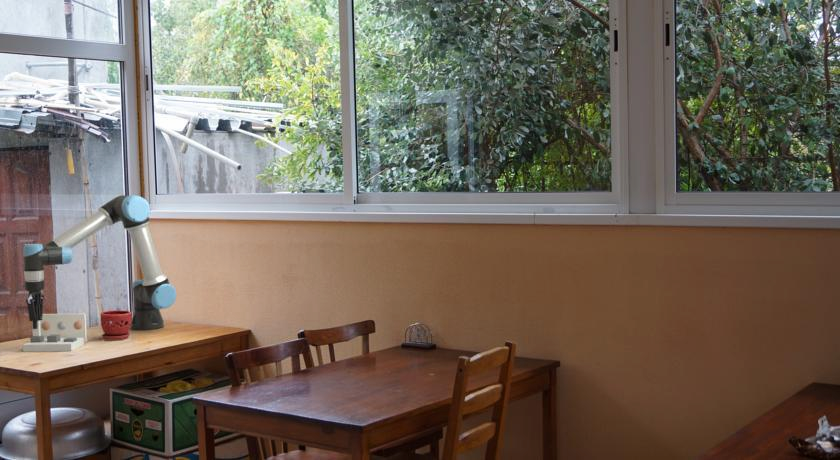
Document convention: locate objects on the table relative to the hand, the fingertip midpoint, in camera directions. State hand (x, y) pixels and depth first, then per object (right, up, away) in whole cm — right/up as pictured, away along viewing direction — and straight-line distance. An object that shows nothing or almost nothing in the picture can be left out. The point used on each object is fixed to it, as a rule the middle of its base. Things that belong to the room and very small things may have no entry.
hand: (36, 336), depth 395 cm
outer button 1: (+14, -4, 0) cm, 15 cm away
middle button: (+7, -3, 0) cm, 8 cm away
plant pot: (+28, -4, +20) cm, 34 cm away
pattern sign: (+7, -4, +10) cm, 13 cm away
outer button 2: (0, -3, 0) cm, 3 cm away
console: (+7, -5, 0) cm, 9 cm away
